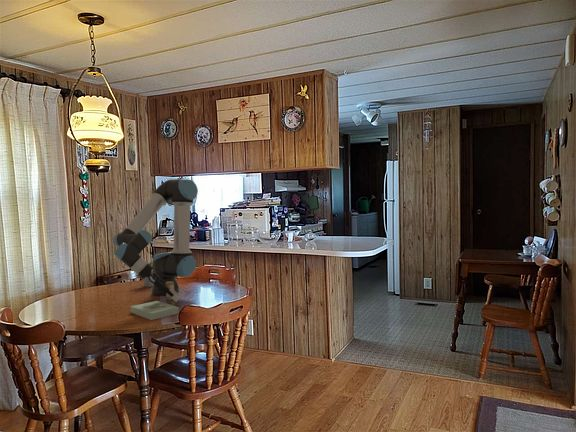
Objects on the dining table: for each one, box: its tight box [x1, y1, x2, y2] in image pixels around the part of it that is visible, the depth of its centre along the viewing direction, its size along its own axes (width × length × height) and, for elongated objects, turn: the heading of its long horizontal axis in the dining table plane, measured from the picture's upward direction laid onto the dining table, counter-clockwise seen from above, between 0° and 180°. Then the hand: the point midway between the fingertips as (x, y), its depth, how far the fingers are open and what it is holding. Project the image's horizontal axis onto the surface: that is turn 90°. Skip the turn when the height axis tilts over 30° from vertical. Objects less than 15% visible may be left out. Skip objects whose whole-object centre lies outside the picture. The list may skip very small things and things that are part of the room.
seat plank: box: [130, 300, 180, 321], centre depth 209 cm, size 20×14×3 cm
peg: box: [165, 282, 176, 306], centre depth 222 cm, size 4×4×12 cm
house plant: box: [142, 260, 154, 288], centre depth 275 cm, size 14×14×16 cm
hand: (178, 298), depth 222 cm, fingers open, 5 cm apart
